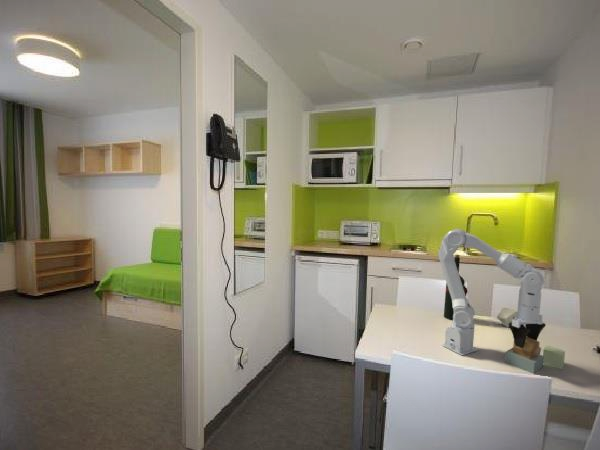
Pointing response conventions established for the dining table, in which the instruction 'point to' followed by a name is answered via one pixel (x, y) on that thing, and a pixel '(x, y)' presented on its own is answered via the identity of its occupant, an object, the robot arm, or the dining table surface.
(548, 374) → the dining table surface
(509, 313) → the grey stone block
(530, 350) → the walnut cube
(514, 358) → the slate plinth
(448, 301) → the wine bottle
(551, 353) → the sage cube
